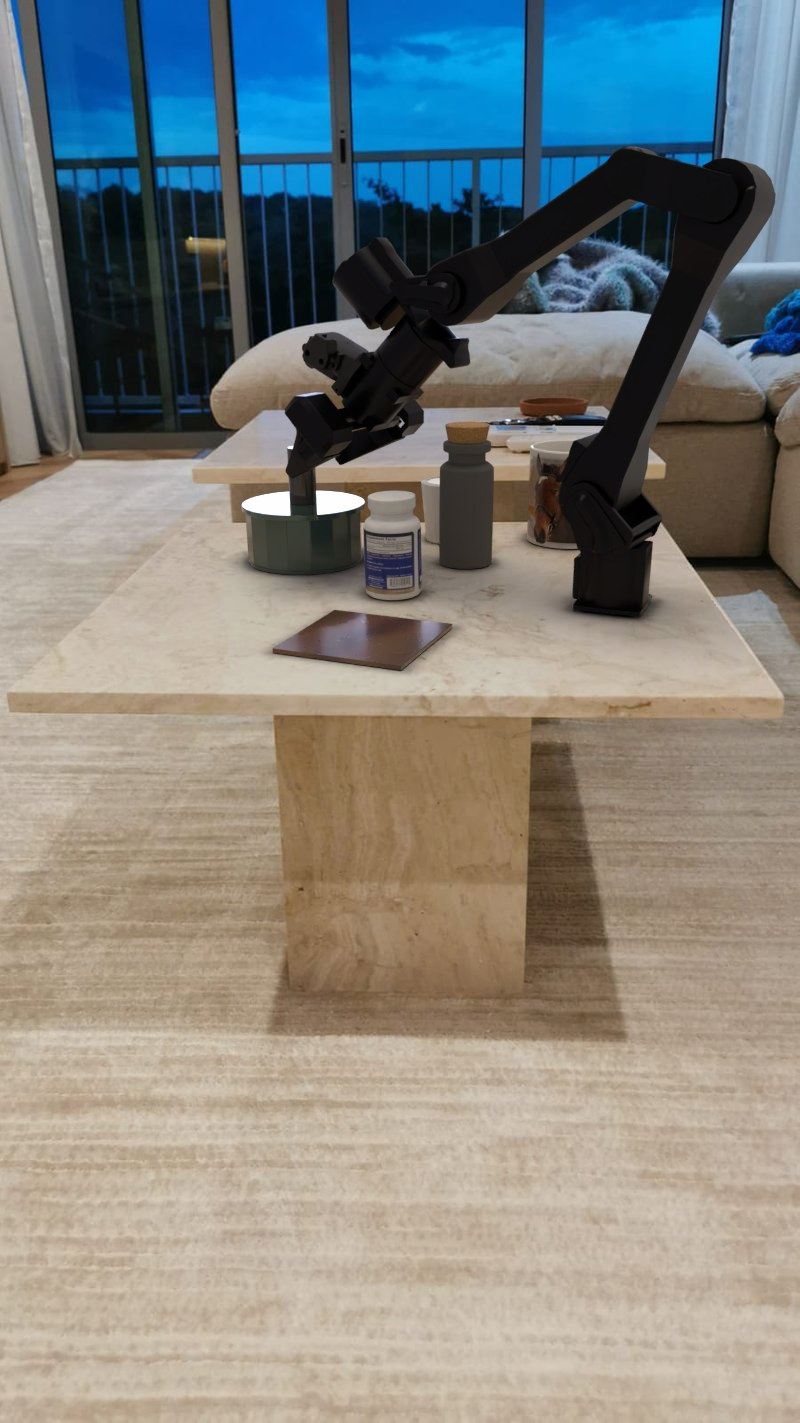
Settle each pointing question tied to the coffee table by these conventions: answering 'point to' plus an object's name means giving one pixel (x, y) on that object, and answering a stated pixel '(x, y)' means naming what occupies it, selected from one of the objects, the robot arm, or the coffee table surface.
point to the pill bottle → (392, 546)
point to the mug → (548, 496)
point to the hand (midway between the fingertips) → (314, 468)
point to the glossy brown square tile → (364, 639)
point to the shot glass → (431, 507)
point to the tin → (304, 545)
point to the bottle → (466, 497)
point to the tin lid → (303, 501)
